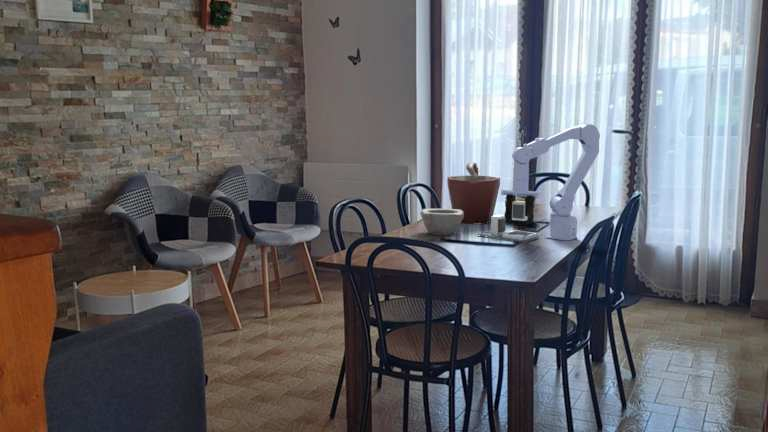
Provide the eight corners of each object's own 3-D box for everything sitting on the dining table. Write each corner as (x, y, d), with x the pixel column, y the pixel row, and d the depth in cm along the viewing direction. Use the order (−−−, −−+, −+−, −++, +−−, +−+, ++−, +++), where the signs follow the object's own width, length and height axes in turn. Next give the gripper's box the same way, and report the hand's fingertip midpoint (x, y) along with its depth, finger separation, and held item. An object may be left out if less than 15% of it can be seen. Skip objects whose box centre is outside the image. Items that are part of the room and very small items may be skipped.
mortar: (463, 230, 286) (464, 207, 285) (463, 238, 270) (463, 214, 268) (422, 229, 288) (422, 206, 287) (419, 237, 272) (419, 213, 270)
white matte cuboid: (514, 218, 271) (515, 200, 270) (527, 219, 269) (527, 201, 268) (511, 220, 268) (511, 201, 267) (524, 221, 265) (524, 202, 264)
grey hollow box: (538, 238, 269) (539, 217, 268) (524, 242, 261) (525, 221, 260) (492, 232, 282) (492, 212, 280) (477, 236, 273) (478, 216, 272)
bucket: (486, 227, 292) (488, 166, 288) (436, 223, 302) (437, 164, 298) (503, 218, 314) (505, 161, 310) (456, 214, 324) (457, 159, 320)
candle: (503, 223, 300) (504, 200, 299) (510, 220, 309) (511, 197, 308) (527, 225, 296) (527, 202, 294) (533, 222, 305) (534, 199, 303)
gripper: (543, 179, 266) (541, 215, 268) (506, 177, 273) (505, 212, 275) (537, 181, 260) (535, 218, 262) (499, 179, 267) (498, 214, 269)
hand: (519, 215), depth 268 cm, fingers closed on white matte cuboid, 5 cm apart
